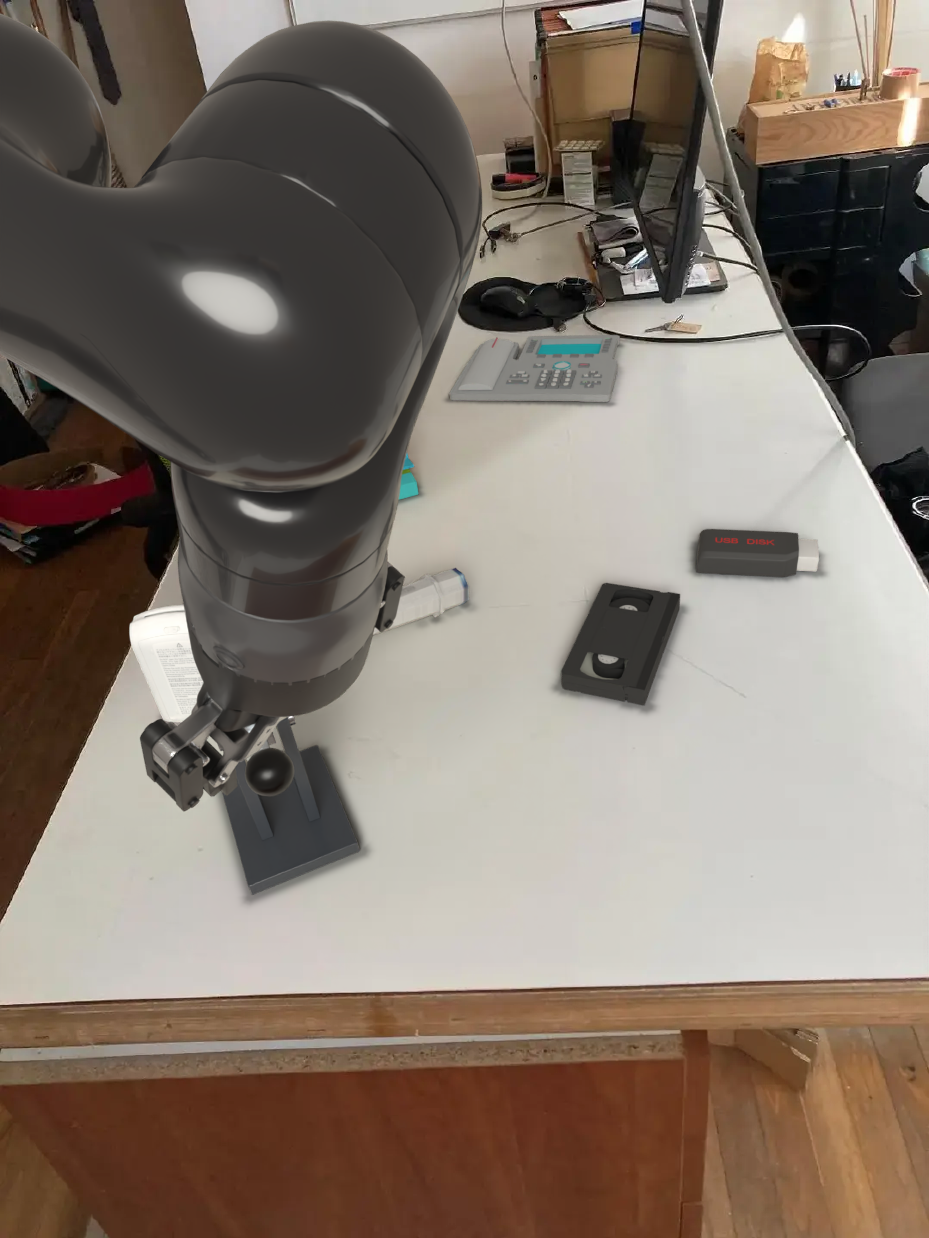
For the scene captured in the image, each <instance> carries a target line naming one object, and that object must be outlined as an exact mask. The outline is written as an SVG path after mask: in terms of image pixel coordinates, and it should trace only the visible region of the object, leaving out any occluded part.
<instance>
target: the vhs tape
mask: <svg viewBox="0 0 929 1238" xmlns="http://www.w3.org/2000/svg"><path fill="white" fill-rule="evenodd" d="M680 605H681V593H677V592H671V591H667V592H666V591H665V592H663V591H660V590H655V589H648V588H642V587H635V586H630V585H622V584H616V583H611V582H604V583H601V586H600V587H599V590H598V592H597V594H596V596H595V598H594V601H593V603H592V605H591V607H590V609H589V612H588V613H587V615H586V617H585V619H584V622H583V624H582V626H581V628H580V630H579V632H578V634H577V637H576V638H575V641H574V643H573V645H572V647H571V649H570V651H569V653H568V655H567V658H566V659H565V662H564V664H563V667H562V668H561V670H560V672H561V673H560V674H561V687H562V689H563V690H565V691H570V692H578V693H581V694H585V695H590V696H595V697H599V698H600V697H601V698H605V699H610V700H615V701H620V702H624V703H625V702H626V701H627V703H630V704H634V705H640V706H646V703H647V700H648V697H649V694H650V693H651V692H650V691H651V689H652V686H653V684H654V680H655V677H656V676H657V672H658V669H659V667H660V664H661V661H662V659H663V655H664V652H665V650H666V649H667V645H668V642H669V639H670V638H671V637H670V636H671V634H672V631H673V628H674V625H675V623H676V620H677V618H678V614H679V612H680V609H681V608H680Z"/></svg>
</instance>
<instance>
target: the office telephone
mask: <svg viewBox="0 0 929 1238" xmlns="http://www.w3.org/2000/svg"><path fill="white" fill-rule="evenodd" d="M620 337H621V336H620V335H618V334H589V335H588V334H583V335H582V334H579V335H578V334H577V335H576V334H575V335H573V334H572V335H567V334H565V335H531V336H528V337H526V342H525V344H524V346H523V348H522V351H521V353H520V354H519V351H520V343H519V342H516V341H512V340H510V339H506V338H499V337H496V338H490V339H486V340H485V341H484V342H483V343H480V344H479V345H478V347H477V349H476V350H475V351H474V353H473V354H472V356H471V358H470V360H469V361H468V362H467V363H466V364H465V367H464V368H463V370H462V372H461V373H460V375H459V377H458V378H457V380H456V382H455V383H454V385H453V386H452V388H451V390H450V391H449V392H448V394H449V400H450V401H468V402H469V401H472V402H473V401H474V402H477V401H479V402H482V401H487V402H489V401H490V402H493V401H495V402H498V401H499V402H501V401H503V402H507V401H508V402H521V401H522V402H583V403H584V402H586V403H587V402H589V403H590V402H592V403H594V402H595V403H597V402H598V403H608V402H610V401H611V399H612V396H613V391H614V387H615V382H616V379H617V373H618V360H617V359H615V355H616V351H617V348H618V346H619V345H620V344H621V338H620ZM518 354H519V357H518ZM517 357H518V359H516V358H517Z"/></svg>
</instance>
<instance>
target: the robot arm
mask: <svg viewBox="0 0 929 1238" xmlns="http://www.w3.org/2000/svg"><path fill="white" fill-rule="evenodd" d="M112 179H113V175H112V157H111V149H110V142H109V136H108V131H107V128H106V124H105V120H104V117H103V114H102V111H101V108H100V106H99V103H98V101H97V99H96V97H95V95H94V92H93V91H92V87H90V85H89V83H88V82H87V79H86V77H85V76H84V75H83V74H82V72H81V71H80V69H79V67H78V66H77V65H76V64H75V63H74V62H73V61H72V60H71V59H70V57H69V56H68V55H67V54H66V53H65V52H64V51H63V50H62V49H61V48H60V47H59V46H58V45H56V44H55V42H53V41H52V40H50V39H49V38H47V37H46V36H44V34H42V33H40V32H39V31H38V30H36V29H34V28H32V27H31V26H28V25H27V24H25V23H24V22H21V21H19V20H17V19H15V18H13V17H10V16H8V15H6V14H3V13H0V356H2V357H4V358H6V359H7V360H9V361H11V362H12V363H14V364H16V365H17V366H19V367H21V368H22V369H24V370H25V371H27V372H29V373H31V374H32V375H34V376H37V377H38V378H40V379H41V380H43V381H45V382H47V383H48V384H50V385H52V386H53V387H55V388H56V389H59V390H60V391H62V392H63V393H64V394H66V395H68V396H69V397H71V398H73V399H74V400H76V401H77V402H79V403H80V404H82V405H83V406H85V407H87V408H88V409H90V410H91V411H93V412H94V413H96V414H97V415H98V416H100V417H102V418H103V419H104V420H106V421H107V422H109V423H110V424H112V425H113V426H115V428H118V429H119V430H120V431H122V432H123V433H125V434H127V435H129V436H130V437H131V438H132V439H133V440H135V441H136V442H138V443H140V444H141V445H142V446H144V447H146V448H147V449H149V450H150V451H152V452H153V453H155V454H156V455H157V456H159V457H161V458H163V459H165V460H166V461H168V462H170V481H171V491H172V497H173V503H174V508H175V509H174V510H175V515H176V521H177V527H178V533H179V539H178V548H177V570H178V571H177V572H178V582H179V588H180V593H181V599H182V604H183V605H184V611H185V616H186V622H187V628H188V633H189V639H190V645H191V650H192V654H193V658H194V661H195V664H196V666H197V669H198V671H199V674H200V676H201V678H202V680H203V685H202V687H201V689H200V691H199V693H198V696H197V703H196V704H195V706H194V708H193V709H192V712H191V715H190V716H189V717H187V718H186V719H185V720H184V721H183V722H179V724H178V725H177V724H175V722H167V721H164V720H163V718H158V719H156V720H155V721H153V722H151V723H149V724H148V725H147V726H146V727H145V728H144V729H143V731H142V733H141V734H140V735H139V742H140V746H141V747H140V748H141V753H142V756H143V763H144V767H145V772H146V775H147V776H148V778H149V779H150V780H151V781H152V782H153V783H156V784H157V785H158V786H159V787H160V788H161V789H162V790H163V791H164V792H165V793H166V795H168V796H169V797H170V798H171V799H172V800H173V801H174V802H175V804H176V806H177V807H178V808H179V809H180V810H181V811H182V812H186V811H188V810H190V809H194V807H196V806H197V805H198V804H199V802H200V801H201V798H202V797H203V795H204V792H206V794H207V795H209V796H210V797H215V796H217V795H218V794H219V793H220V792H221V793H222V792H223V793H224V794H225V795H226V796H227V795H229V794H230V793H231V792H232V791H233V790H234V789H235V788H236V787H237V776H236V768H235V767H236V766H237V764H238V763H239V762H242V761H244V760H245V759H247V760H248V759H249V758H251V756H252V755H253V754H255V753H257V752H258V751H259V750H260V749H261V747H262V746H263V744H264V743H265V742H266V740H267V739H268V737H269V736H270V734H271V733H272V732H273V731H274V730H275V729H276V726H277V724H278V723H279V722H280V721H281V720H283V719H285V718H287V717H290V716H294V717H296V716H297V717H298V716H302V715H306V714H309V713H312V712H315V711H318V710H321V709H322V708H324V707H326V706H329V705H330V704H331V703H333V702H335V701H336V700H337V699H339V698H341V696H342V695H344V694H345V693H346V692H347V691H348V690H349V689H350V688H351V686H352V685H353V684H354V683H355V682H356V681H357V679H358V677H359V676H360V674H361V673H362V671H363V669H364V668H365V667H364V666H365V664H366V662H367V659H368V656H369V652H370V648H371V644H372V640H373V636H374V635H373V633H374V629H375V628H376V629H378V630H379V631H380V632H382V633H384V632H383V631H384V630H385V629H388V628H390V627H391V626H392V624H393V621H394V619H395V618H396V614H397V610H398V605H399V601H400V596H401V592H402V587H404V581H405V579H406V577H405V575H404V574H403V573H401V571H399V570H398V569H397V568H396V566H394V565H392V564H391V563H390V561H388V560H389V559H388V558H389V557H388V555H389V554H388V553H389V552H388V547H389V543H390V540H391V535H392V531H393V527H394V523H395V519H396V514H397V512H398V511H397V510H398V506H399V495H400V486H401V477H402V471H403V466H404V462H405V458H406V454H408V450H409V446H410V441H411V439H412V435H413V432H414V430H415V429H414V428H415V426H416V423H417V421H418V419H419V418H418V417H419V415H420V413H421V410H422V408H423V406H424V403H425V400H426V399H427V395H428V392H429V390H430V388H431V386H432V385H431V384H432V382H433V380H434V377H435V374H436V371H437V369H438V366H439V364H440V361H441V357H442V355H443V353H444V350H445V346H446V344H447V342H448V339H449V337H450V334H451V332H452V329H453V328H452V327H453V325H454V323H455V319H456V317H457V313H458V311H459V308H460V305H461V302H462V299H463V296H464V293H465V290H466V288H467V285H468V281H469V278H470V275H471V272H472V269H473V264H474V261H475V258H476V253H477V250H478V246H479V241H480V236H481V229H482V222H483V221H482V220H483V189H482V179H481V173H480V168H479V162H478V157H477V154H476V151H475V147H474V143H473V140H472V138H471V135H470V132H469V128H468V127H467V124H466V123H465V121H464V118H463V116H462V114H461V112H460V110H459V108H458V107H457V105H456V103H455V101H454V99H453V98H452V96H451V94H450V93H449V91H448V89H446V87H445V85H443V83H442V82H441V80H440V79H439V77H437V76H436V74H434V72H433V71H432V70H431V68H430V67H428V65H427V64H425V63H424V61H422V60H421V59H420V58H419V57H418V55H416V54H415V53H414V52H412V51H411V50H410V49H408V48H407V47H406V46H404V45H403V44H401V43H400V42H399V41H397V40H395V39H394V38H391V37H390V36H389V35H386V34H385V33H383V32H381V31H378V30H377V29H374V28H370V27H367V26H364V25H361V24H358V23H352V22H348V21H343V20H342V21H341V20H316V21H310V22H309V21H308V22H304V23H299V24H295V25H291V26H288V27H284V28H281V29H278V30H276V31H274V32H272V33H270V34H268V35H266V36H264V37H263V38H261V39H259V40H258V41H256V42H255V43H253V44H252V45H250V46H249V47H248V48H247V49H245V50H244V51H243V52H242V53H241V54H240V53H239V55H238V56H236V57H235V58H234V59H233V60H232V61H231V62H230V64H228V65H227V67H226V68H225V69H223V71H222V72H221V73H220V74H219V75H218V77H217V78H216V79H215V80H214V81H213V83H212V84H211V86H210V87H209V88H208V89H207V91H206V92H205V94H204V95H203V96H202V97H201V99H200V100H199V102H197V104H196V106H195V107H194V108H193V110H192V111H191V113H190V114H189V115H188V116H187V117H186V118H185V120H184V121H183V123H181V125H180V126H179V128H178V129H177V130H176V132H175V133H174V134H173V136H172V137H171V138H170V140H169V141H168V142H167V143H166V144H165V146H164V148H163V149H162V150H161V151H160V153H159V154H158V155H157V157H155V159H154V160H153V162H152V163H151V164H150V165H149V167H148V168H147V170H146V171H145V173H144V174H143V175H142V176H141V178H140V179H139V181H138V182H136V184H135V185H134V186H133V187H112ZM254 724H255V725H254ZM250 725H254V727H253V728H252V730H251V731H250V733H249V732H247V731H246V730H245V729H244V727H247V726H250ZM209 738H211V739H212V740H213V741H214V742H215V743H216V744H217V746H218V745H219V746H220V747H221V748H222V750H223V751H222V753H220V752H219V751H218V750H217V749H216V747H215V746H213V745H212V744H211V743H210V742H209V741H208V740H209Z"/></svg>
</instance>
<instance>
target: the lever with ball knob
mask: <svg viewBox="0 0 929 1238" xmlns="http://www.w3.org/2000/svg"><path fill="white" fill-rule="evenodd" d="M254 725H255V724H254ZM254 725H250V726H247V727H244V729H245V730H246V731H247V732H249V733H250V731H251V730H252V728H253V727H254ZM275 744H277V741H276V738H275V735H274V732H273V731H272V733H271V734H270V736H269V737H268V739H267V740H266V742H265V743H264V744H263V746H262V747H261V749H260V750H259V751H258V752H257V753H255V754H253V755H252V756H250V757H249V758H248V759H247V761H248V762H247V765H246V768H245V778H246V781H247V783H248V785H249V787H250V788H251V789H252V790H253V791H254V792H255V793H257V794H259V795H262V796H267V797H271V796H276V795H279V794H281V793H282V792H284V791H285V790H286V789H287V788H288V787H289V786H290V784H291V782H292V780H293V777H294V766H293V763H292V761H291V759H290V757H289V756H288V755H287V754H286V753H285V752H284V750H281V749H279V748H276V747H271V746H272V745H275Z"/></svg>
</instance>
